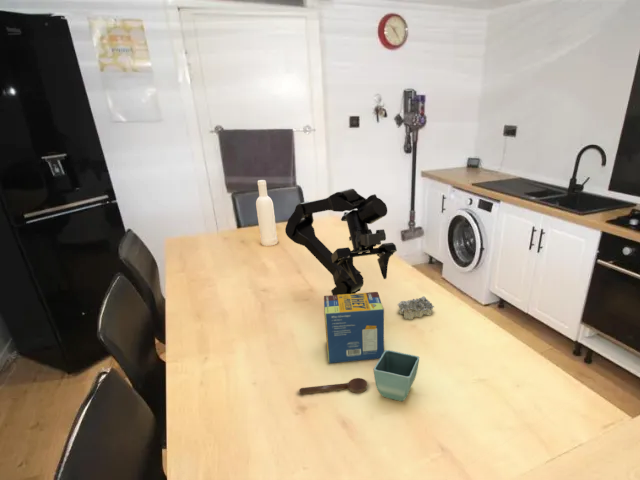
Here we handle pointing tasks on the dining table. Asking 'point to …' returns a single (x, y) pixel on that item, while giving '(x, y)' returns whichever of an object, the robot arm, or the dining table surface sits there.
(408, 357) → the flower pot
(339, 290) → the robot arm
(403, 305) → the egg carton
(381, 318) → the protein box
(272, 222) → the bottle
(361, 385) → the wooden spoon
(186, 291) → the dining table surface
